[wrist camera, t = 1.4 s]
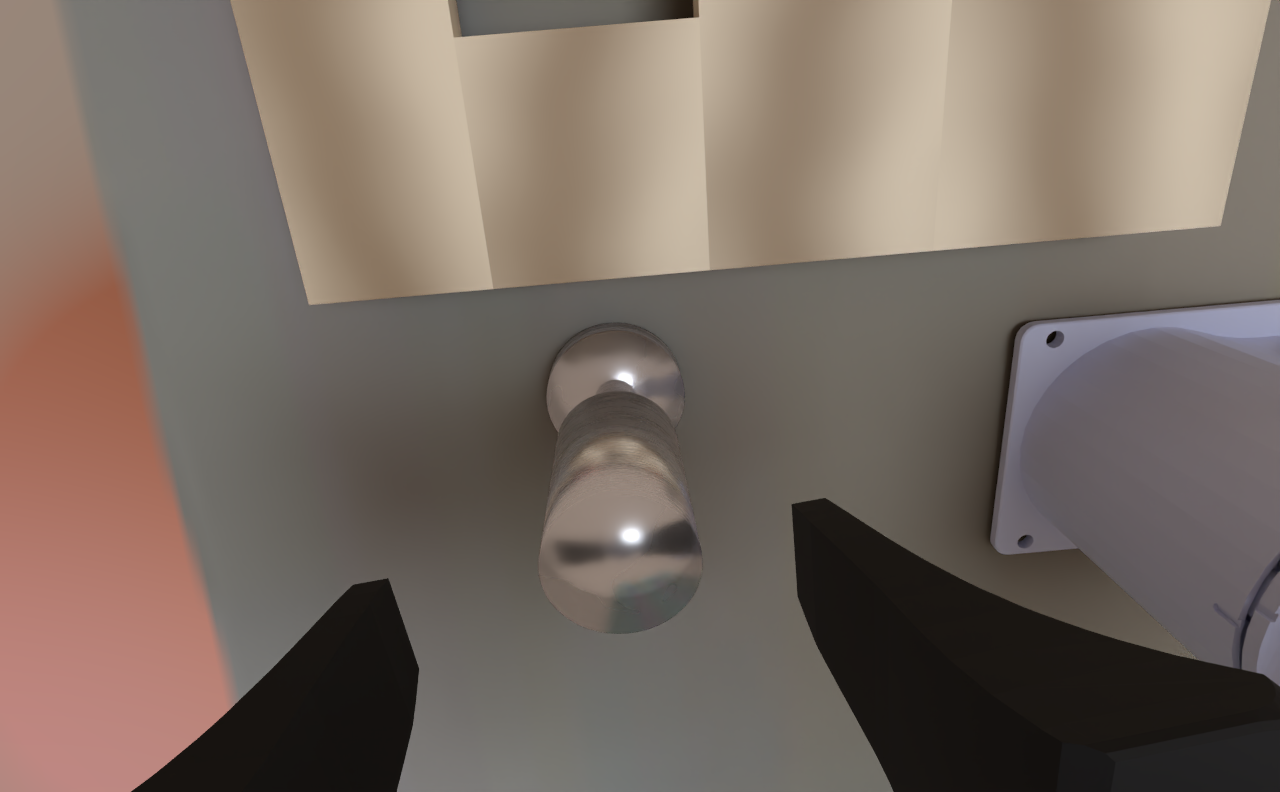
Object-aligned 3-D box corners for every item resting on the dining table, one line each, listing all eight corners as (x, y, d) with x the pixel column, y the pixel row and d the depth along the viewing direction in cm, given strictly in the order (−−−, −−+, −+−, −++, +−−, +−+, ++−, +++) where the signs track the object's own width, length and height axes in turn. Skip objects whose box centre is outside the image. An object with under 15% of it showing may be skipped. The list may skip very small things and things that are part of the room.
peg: (677, 316, 21) (726, 459, 12) (684, 440, 22) (733, 644, 14) (540, 329, 21) (494, 481, 12) (557, 451, 22) (526, 663, 14)
